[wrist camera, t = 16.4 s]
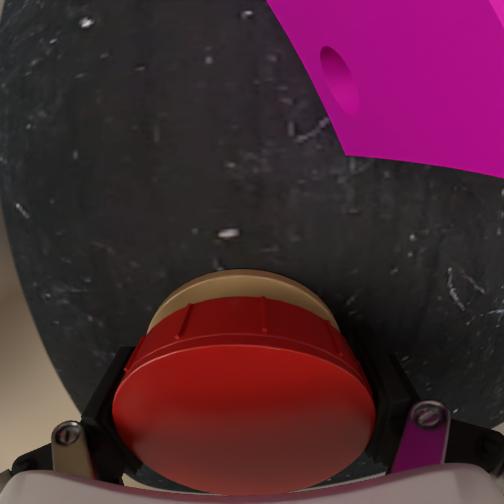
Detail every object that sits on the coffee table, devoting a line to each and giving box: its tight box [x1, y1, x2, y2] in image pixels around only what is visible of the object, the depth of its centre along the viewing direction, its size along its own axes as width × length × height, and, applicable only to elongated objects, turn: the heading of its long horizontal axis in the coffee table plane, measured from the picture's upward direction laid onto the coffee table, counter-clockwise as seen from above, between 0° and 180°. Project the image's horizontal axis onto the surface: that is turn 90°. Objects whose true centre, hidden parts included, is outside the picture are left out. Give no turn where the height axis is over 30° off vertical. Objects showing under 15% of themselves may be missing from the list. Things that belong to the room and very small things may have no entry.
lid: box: [112, 296, 376, 496], centre depth 8 cm, size 8×8×2 cm
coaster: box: [147, 269, 340, 334], centre depth 11 cm, size 8×8×1 cm
